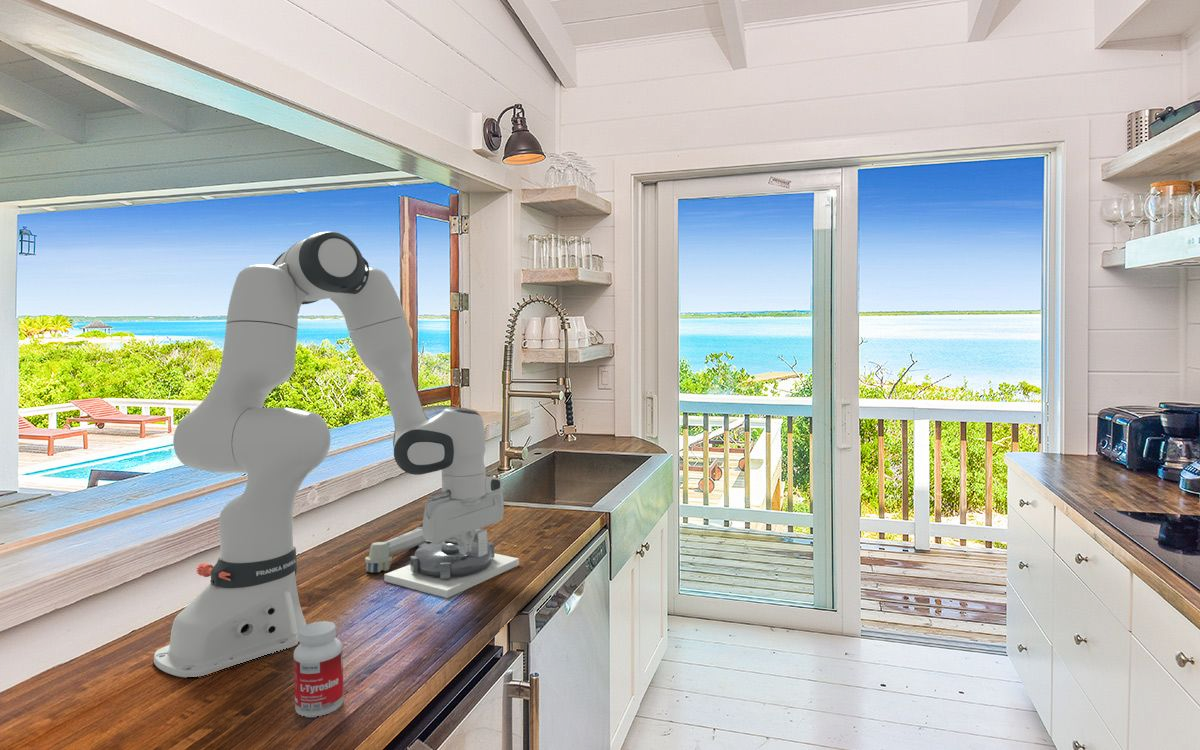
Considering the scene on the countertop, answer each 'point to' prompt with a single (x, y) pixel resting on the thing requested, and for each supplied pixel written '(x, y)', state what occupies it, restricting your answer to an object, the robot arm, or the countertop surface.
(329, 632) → the pill bottle
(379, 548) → the toothbrush head
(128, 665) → the countertop surface
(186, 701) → the countertop surface
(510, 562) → the base plate
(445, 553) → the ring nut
